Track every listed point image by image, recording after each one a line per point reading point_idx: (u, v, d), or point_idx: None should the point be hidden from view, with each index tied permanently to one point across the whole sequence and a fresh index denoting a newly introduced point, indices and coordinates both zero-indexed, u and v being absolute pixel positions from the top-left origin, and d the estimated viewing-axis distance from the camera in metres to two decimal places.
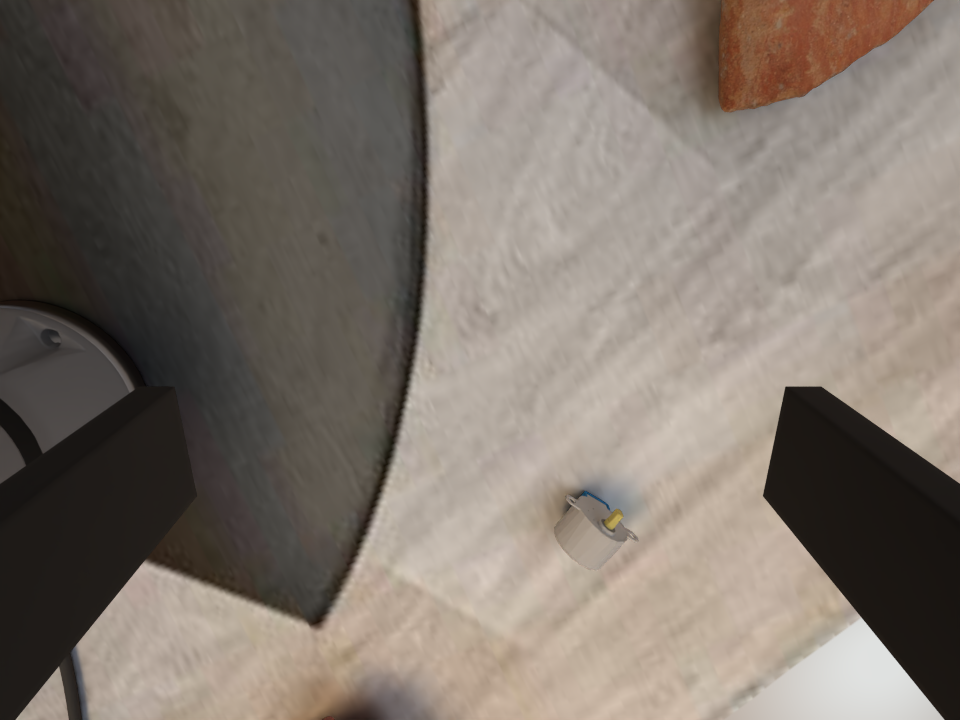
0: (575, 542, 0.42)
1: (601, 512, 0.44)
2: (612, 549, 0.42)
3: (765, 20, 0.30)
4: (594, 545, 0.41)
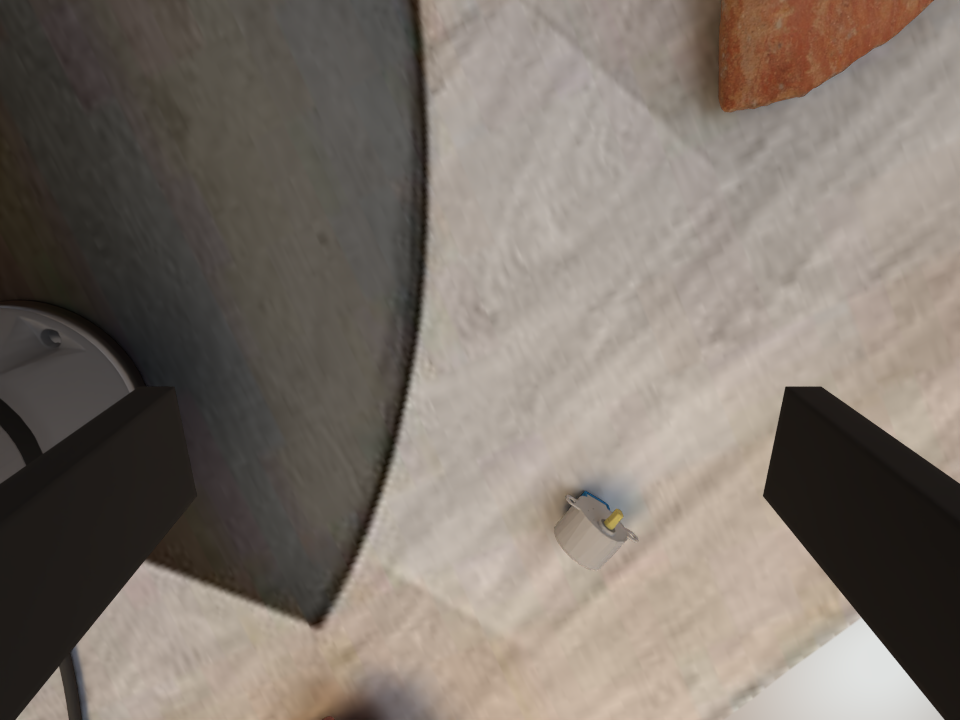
0: (575, 542, 0.42)
1: (601, 512, 0.44)
2: (612, 549, 0.42)
3: (765, 20, 0.30)
4: (594, 545, 0.41)
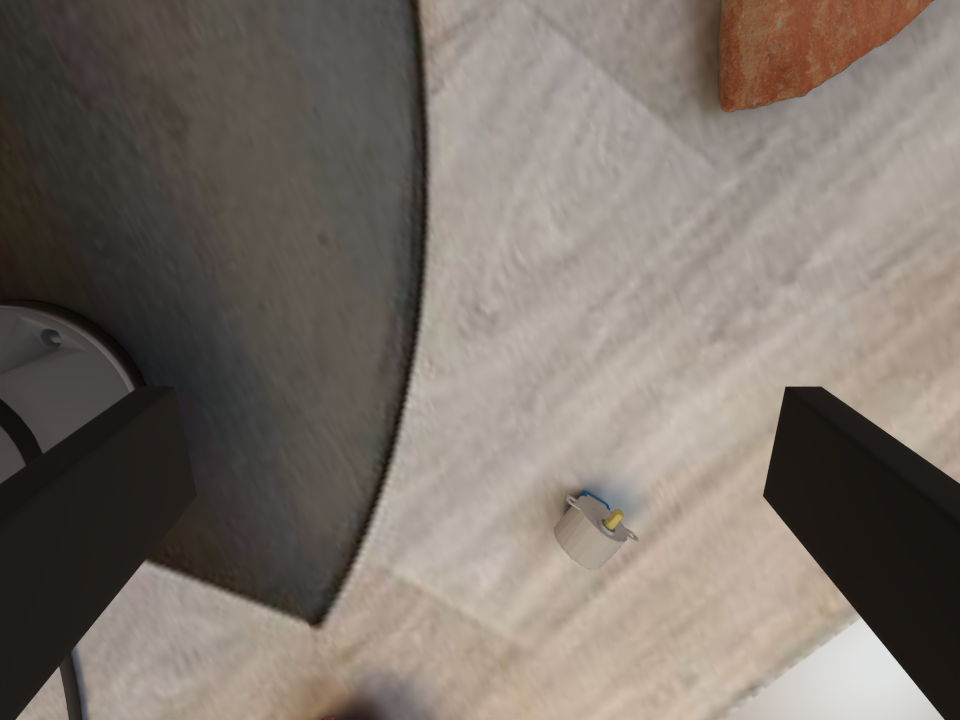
0: (575, 542, 0.42)
1: (601, 512, 0.44)
2: (612, 549, 0.42)
3: (765, 20, 0.30)
4: (594, 545, 0.41)
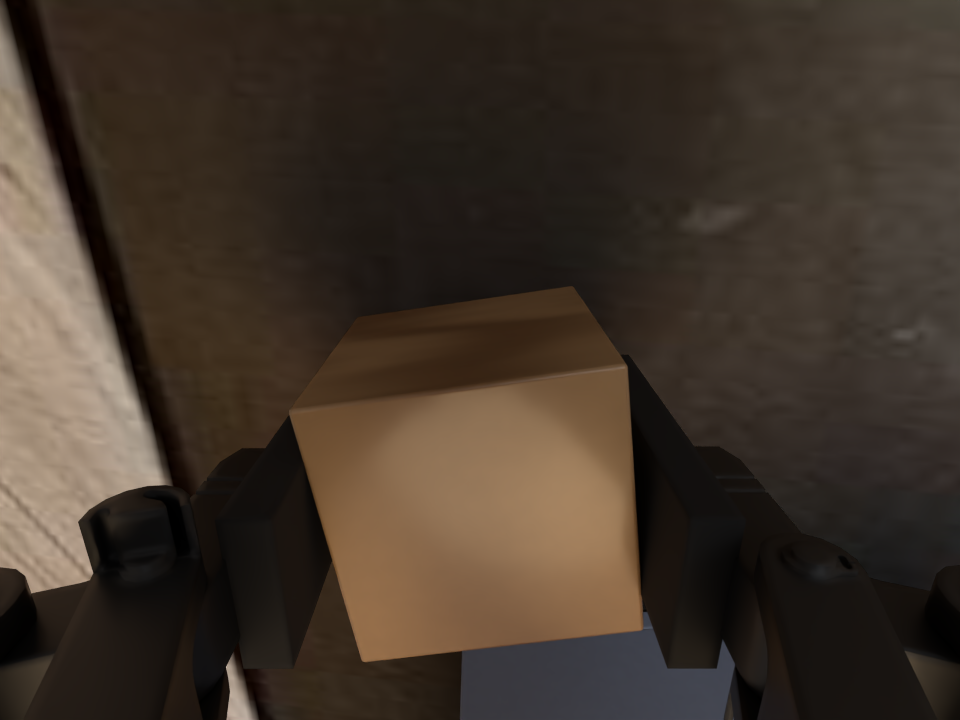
0: None
1: None
2: None
3: None
4: None
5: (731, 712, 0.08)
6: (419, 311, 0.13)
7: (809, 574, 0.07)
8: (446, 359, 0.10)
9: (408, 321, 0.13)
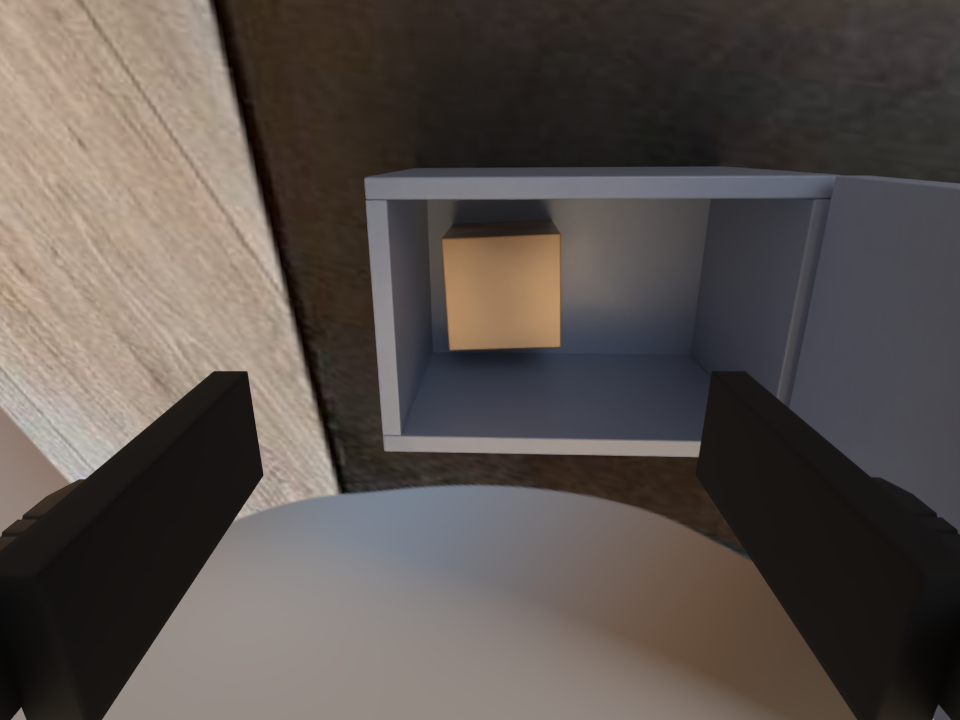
0: None
1: None
2: None
3: None
4: None
5: None
6: (481, 223, 0.29)
7: None
8: (496, 231, 0.26)
9: (477, 225, 0.29)
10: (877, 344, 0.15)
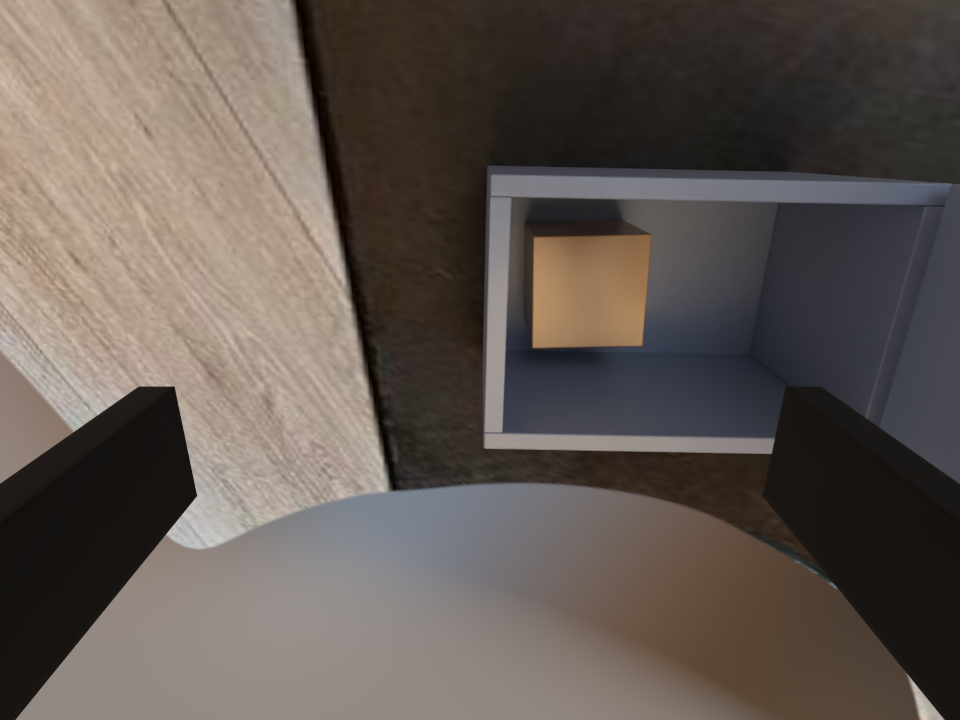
0: None
1: None
2: None
3: None
4: None
5: None
6: (555, 222, 0.30)
7: None
8: (582, 231, 0.26)
9: (553, 224, 0.29)
10: None
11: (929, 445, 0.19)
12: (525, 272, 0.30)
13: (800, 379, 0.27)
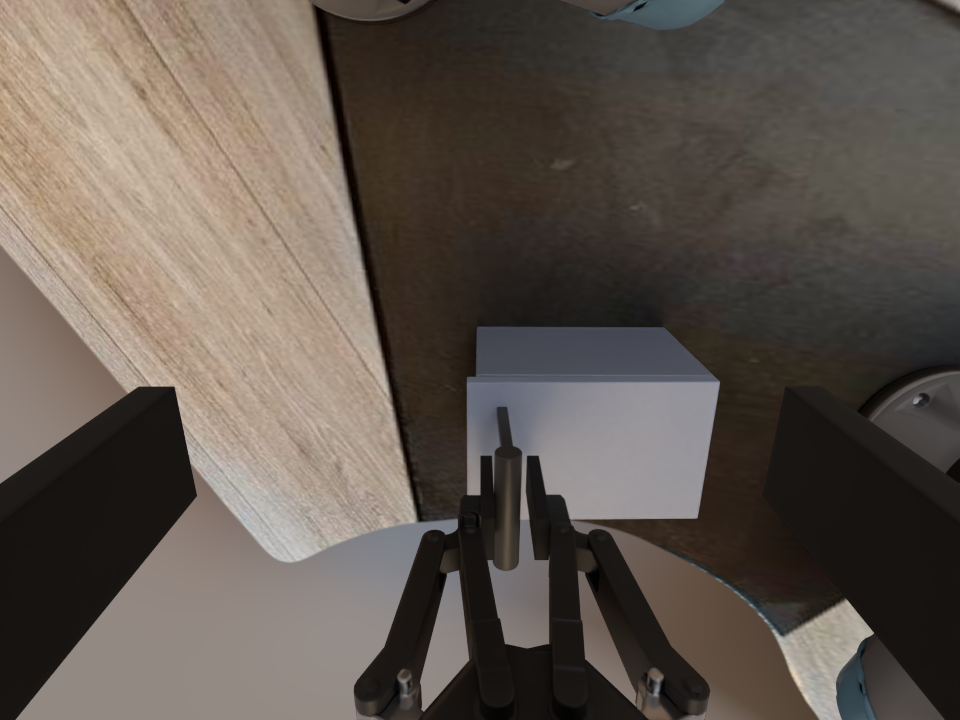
0: None
1: None
2: None
3: None
4: None
5: None
6: None
7: None
8: None
9: None
10: None
11: None
12: None
13: None
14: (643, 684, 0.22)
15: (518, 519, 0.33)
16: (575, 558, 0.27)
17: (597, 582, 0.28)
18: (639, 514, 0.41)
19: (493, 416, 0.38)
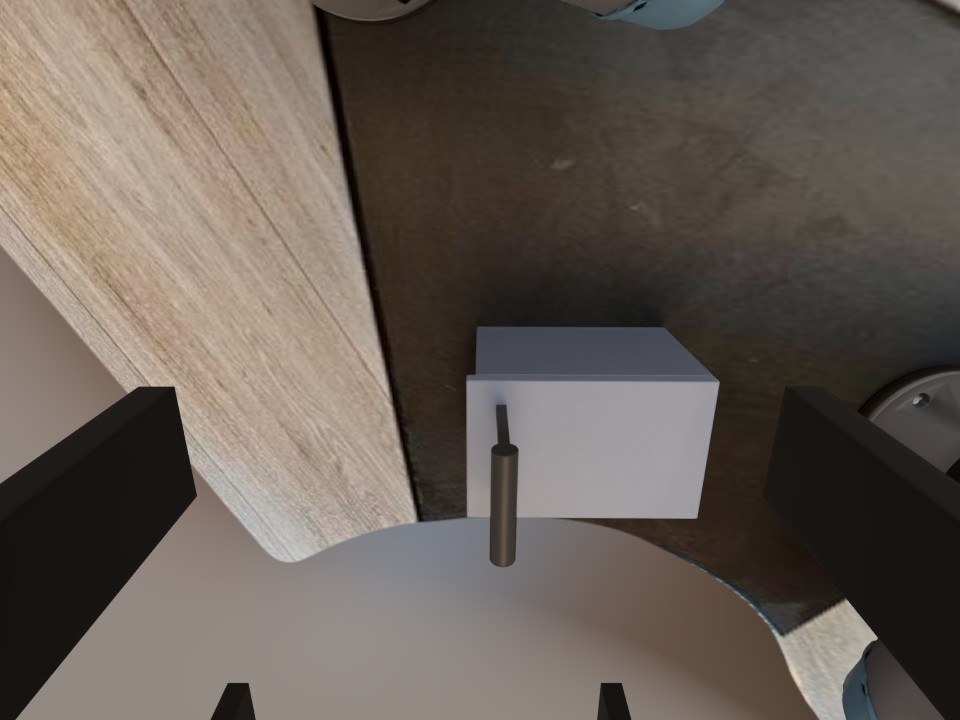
0: None
1: None
2: None
3: None
4: None
5: None
6: None
7: None
8: None
9: None
10: None
11: None
12: None
13: None
14: None
15: (514, 516, 0.33)
16: None
17: None
18: (639, 513, 0.41)
19: (492, 414, 0.38)
